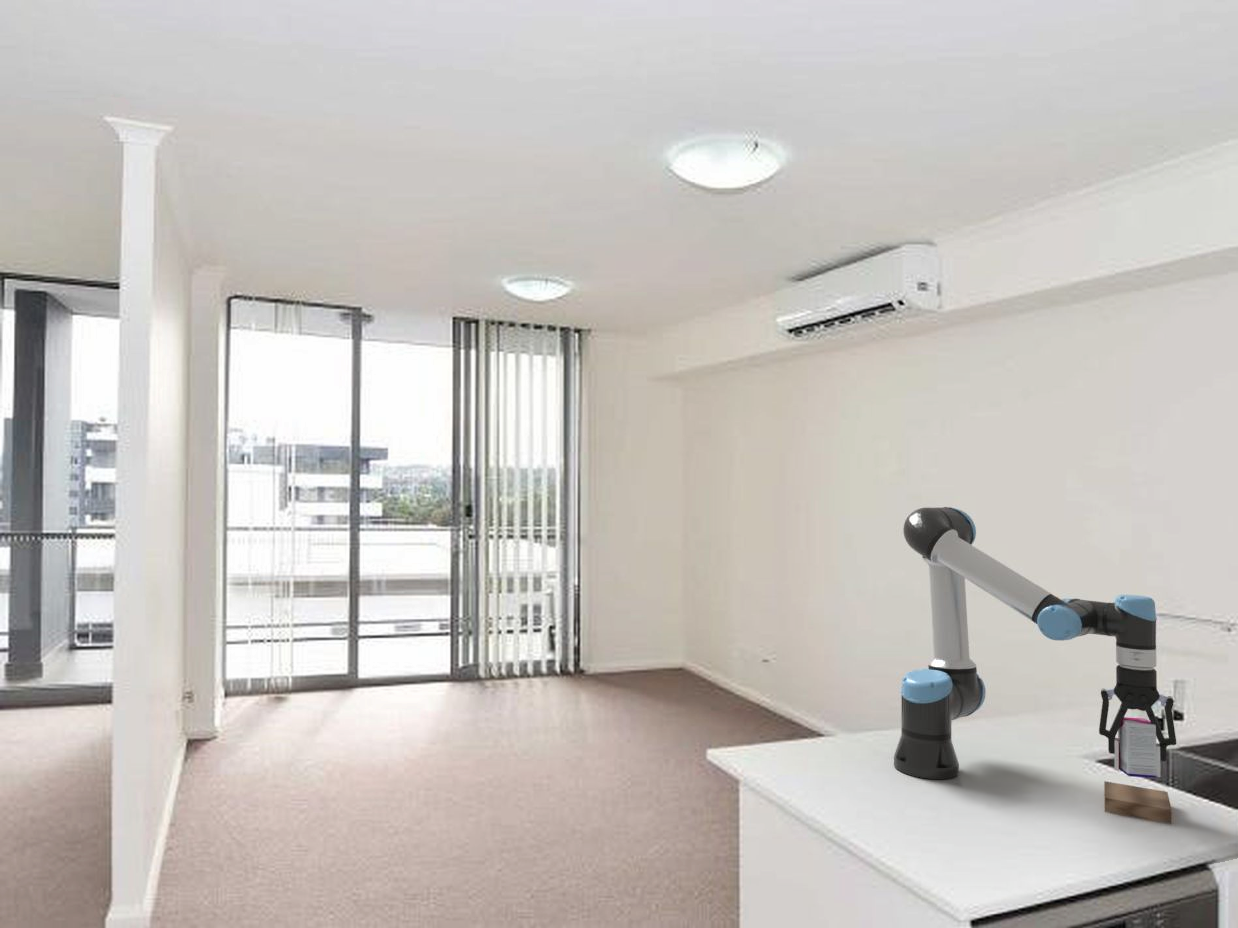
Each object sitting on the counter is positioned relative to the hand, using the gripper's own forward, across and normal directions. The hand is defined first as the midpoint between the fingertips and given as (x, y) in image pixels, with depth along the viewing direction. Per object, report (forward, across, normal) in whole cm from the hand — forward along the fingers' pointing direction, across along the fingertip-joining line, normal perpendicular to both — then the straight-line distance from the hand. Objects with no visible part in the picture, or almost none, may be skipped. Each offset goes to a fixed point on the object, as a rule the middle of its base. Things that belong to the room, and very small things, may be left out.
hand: (1137, 771), depth 179 cm
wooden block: (+8, 0, 0) cm, 8 cm away
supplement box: (0, 0, 0) cm, 0 cm away
